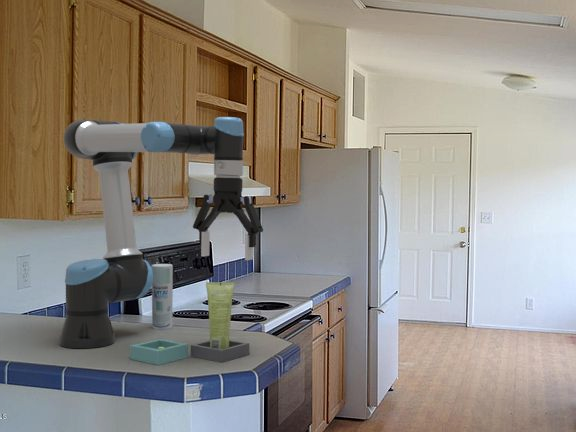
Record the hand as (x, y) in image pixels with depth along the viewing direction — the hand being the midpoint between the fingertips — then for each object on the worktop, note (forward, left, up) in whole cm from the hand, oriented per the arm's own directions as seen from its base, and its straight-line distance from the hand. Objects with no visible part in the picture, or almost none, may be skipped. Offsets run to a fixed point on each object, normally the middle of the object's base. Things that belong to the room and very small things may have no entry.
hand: (226, 258), depth 188 cm
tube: (-2, 0, -26) cm, 26 cm away
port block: (-13, -12, -26) cm, 31 cm away
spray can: (-41, +16, -26) cm, 51 cm away
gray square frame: (-2, 0, -26) cm, 26 cm away
